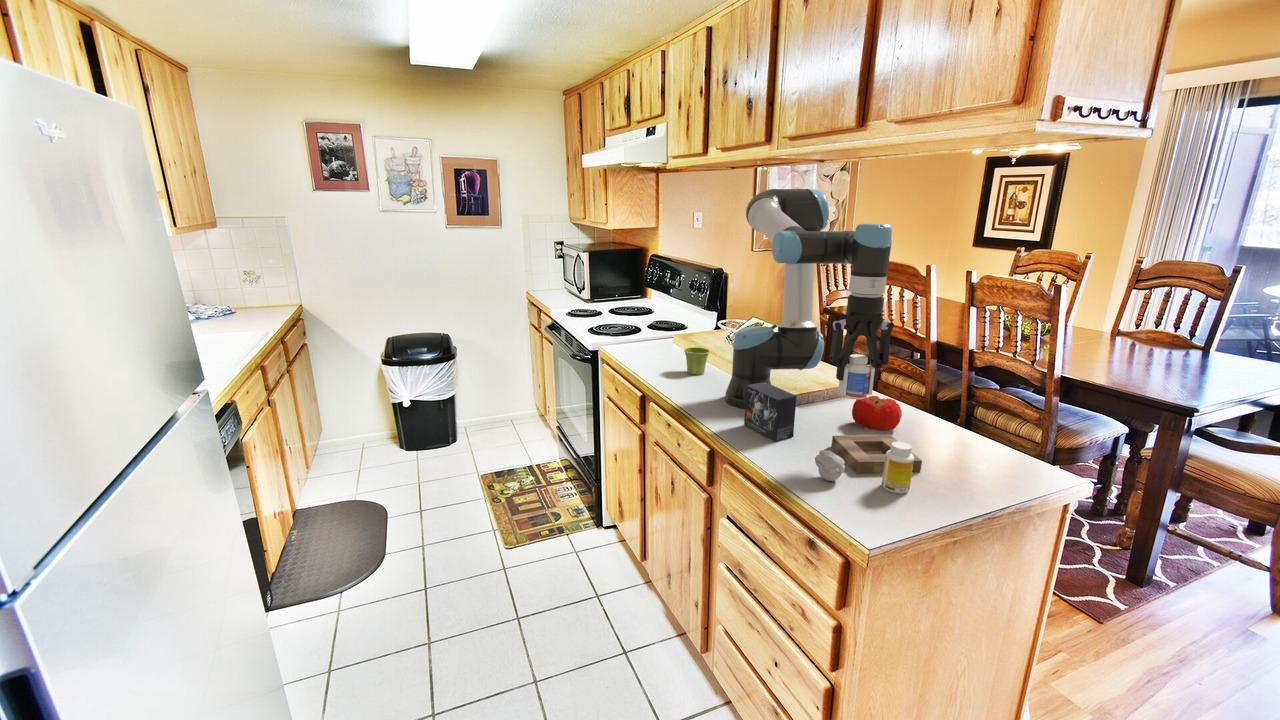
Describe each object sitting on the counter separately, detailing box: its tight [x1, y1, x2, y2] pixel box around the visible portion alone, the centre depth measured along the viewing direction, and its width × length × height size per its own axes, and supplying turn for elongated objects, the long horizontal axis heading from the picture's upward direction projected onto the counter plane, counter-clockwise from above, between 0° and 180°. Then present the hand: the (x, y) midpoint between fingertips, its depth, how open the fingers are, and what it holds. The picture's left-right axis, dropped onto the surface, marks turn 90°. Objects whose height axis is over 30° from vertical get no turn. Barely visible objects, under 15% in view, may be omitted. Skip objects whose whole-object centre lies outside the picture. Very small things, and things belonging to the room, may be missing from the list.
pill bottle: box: [842, 353, 870, 401], centre depth 127 cm, size 6×5×10 cm
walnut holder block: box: [830, 434, 923, 475], centre depth 133 cm, size 15×15×3 cm
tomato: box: [851, 395, 902, 432], centre depth 152 cm, size 13×12×8 cm
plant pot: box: [683, 346, 711, 376], centre depth 200 cm, size 9×9×9 cm
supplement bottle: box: [881, 441, 914, 495], centre depth 118 cm, size 6×6×10 cm
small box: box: [743, 382, 798, 443], centre depth 148 cm, size 13×7×12 cm, turn 28°
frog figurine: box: [814, 449, 846, 482], centre depth 122 cm, size 6×7×7 cm
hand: (854, 392), depth 128 cm, fingers closed on pill bottle, 5 cm apart
